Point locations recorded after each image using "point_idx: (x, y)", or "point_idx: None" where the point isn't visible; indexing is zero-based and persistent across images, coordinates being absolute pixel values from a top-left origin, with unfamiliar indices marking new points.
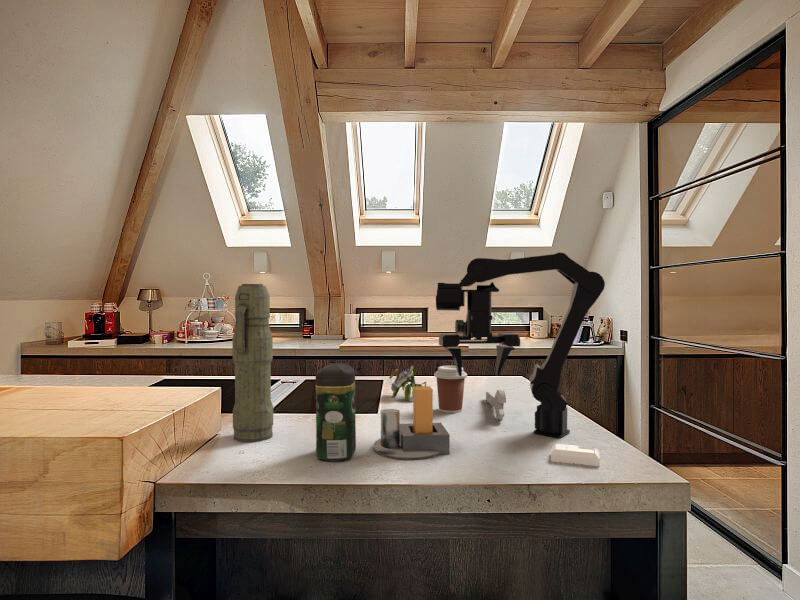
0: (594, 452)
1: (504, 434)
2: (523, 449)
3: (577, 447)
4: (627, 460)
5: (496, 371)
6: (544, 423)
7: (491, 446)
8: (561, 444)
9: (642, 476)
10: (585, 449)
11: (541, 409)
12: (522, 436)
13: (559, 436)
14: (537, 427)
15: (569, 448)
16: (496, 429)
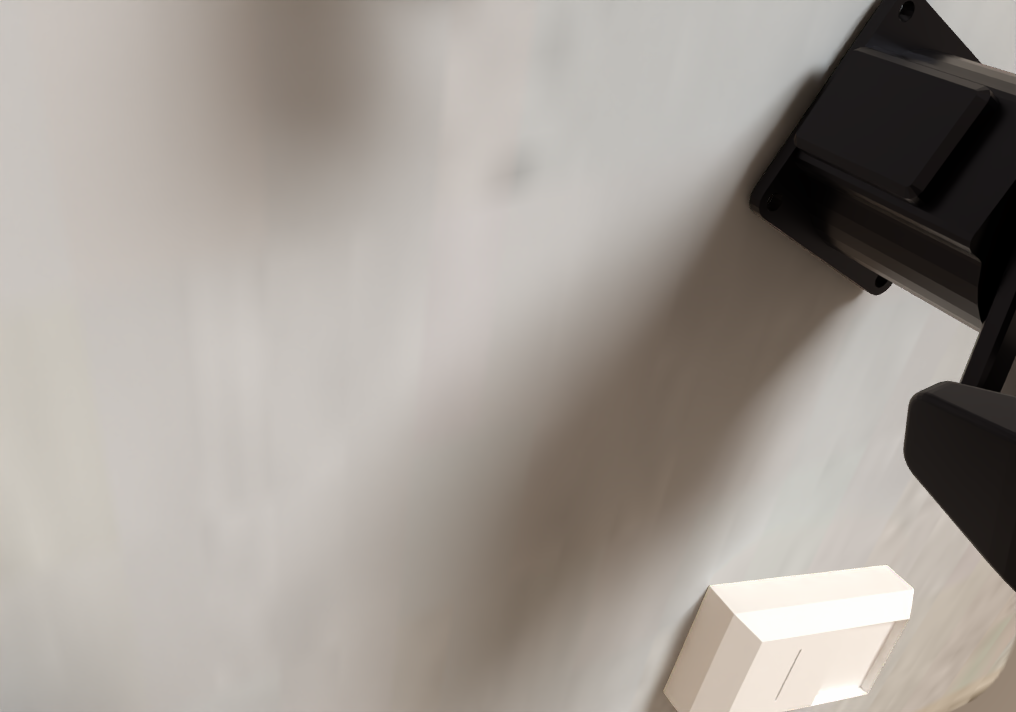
0: (878, 652)
1: (503, 282)
2: (572, 584)
3: (836, 652)
4: None
5: (971, 465)
6: (874, 265)
7: (367, 611)
8: (784, 640)
9: (920, 690)
10: (863, 628)
11: (961, 291)
12: (637, 300)
13: (876, 293)
14: (813, 174)
15: (793, 682)
16: (448, 120)
